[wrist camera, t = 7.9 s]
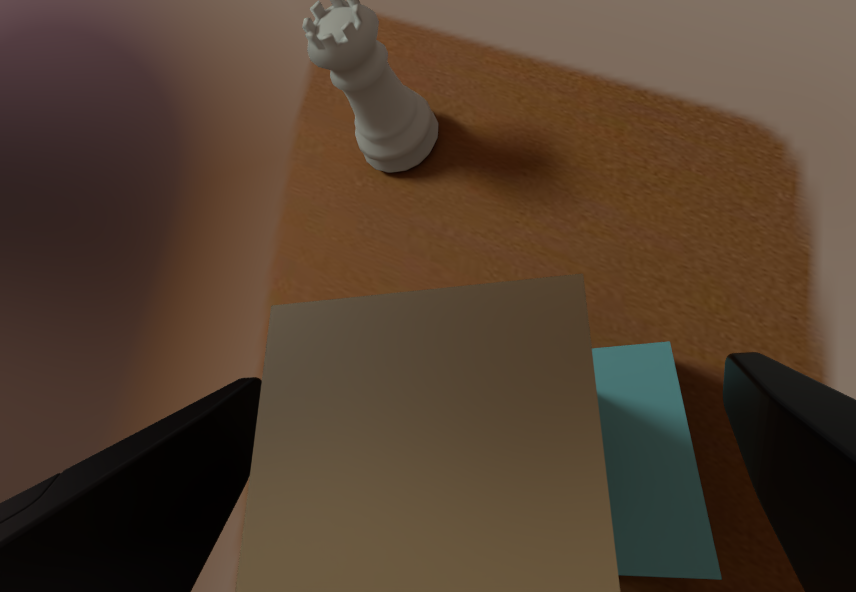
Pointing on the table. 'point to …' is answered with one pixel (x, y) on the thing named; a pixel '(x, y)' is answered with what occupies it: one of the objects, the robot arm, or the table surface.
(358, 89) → the rook chess piece
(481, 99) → the table surface
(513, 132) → the table surface
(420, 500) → the tan wooden block
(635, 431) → the base block
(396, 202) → the table surface
